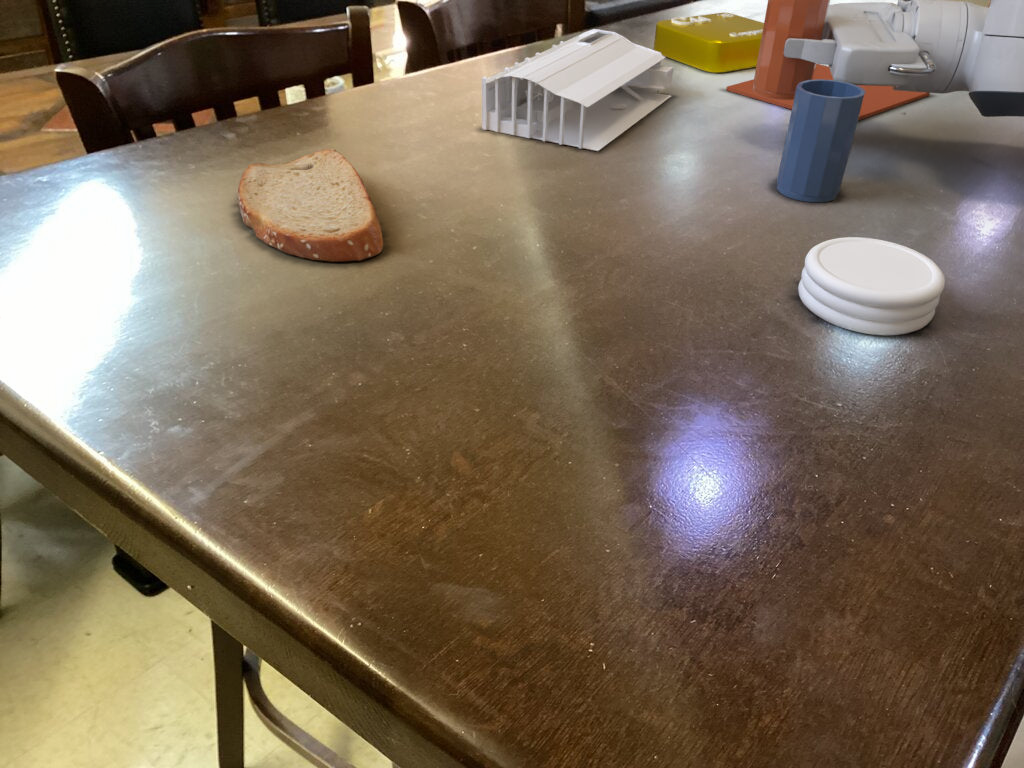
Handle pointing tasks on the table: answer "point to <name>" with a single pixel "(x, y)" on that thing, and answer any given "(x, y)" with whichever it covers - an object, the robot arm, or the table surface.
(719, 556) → the table surface
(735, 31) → the element tile
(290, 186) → the bread slice
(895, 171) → the table surface
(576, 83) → the model shed
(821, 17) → the terracotta cup
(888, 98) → the terracotta mat
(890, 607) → the table surface
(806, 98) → the blue cup
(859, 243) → the coaster
